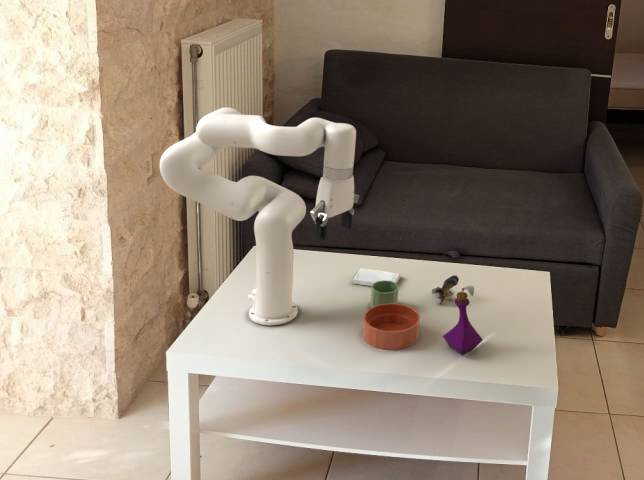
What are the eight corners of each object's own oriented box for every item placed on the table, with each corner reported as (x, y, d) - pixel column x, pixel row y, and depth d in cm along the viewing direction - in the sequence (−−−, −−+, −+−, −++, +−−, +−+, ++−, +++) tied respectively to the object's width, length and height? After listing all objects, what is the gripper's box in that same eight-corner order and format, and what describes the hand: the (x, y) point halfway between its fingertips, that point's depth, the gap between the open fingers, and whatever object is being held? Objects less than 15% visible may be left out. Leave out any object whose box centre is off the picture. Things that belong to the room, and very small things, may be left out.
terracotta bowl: (350, 337, 189) (351, 318, 188) (387, 315, 202) (388, 297, 201) (394, 358, 182) (395, 338, 181) (429, 334, 195) (430, 315, 193)
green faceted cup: (364, 308, 205) (366, 287, 203) (382, 298, 211) (383, 277, 210) (385, 317, 201) (386, 295, 200) (402, 307, 207) (404, 286, 206)
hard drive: (352, 279, 217) (393, 284, 216) (361, 267, 225) (400, 272, 224) (352, 284, 218) (393, 289, 217) (360, 272, 226) (399, 277, 224)
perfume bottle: (441, 347, 189) (446, 284, 185) (462, 338, 194) (468, 276, 190) (460, 360, 184) (466, 295, 180) (482, 351, 189) (488, 287, 185)
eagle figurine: (460, 303, 210) (464, 284, 218) (447, 285, 208) (452, 266, 216) (437, 312, 212) (442, 293, 220) (425, 294, 210) (430, 275, 218)
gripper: (349, 160, 196) (344, 220, 200) (303, 175, 181) (299, 238, 185) (371, 167, 193) (366, 228, 196) (325, 183, 178) (321, 247, 182)
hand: (333, 233), depth 191 cm, fingers open, 9 cm apart
